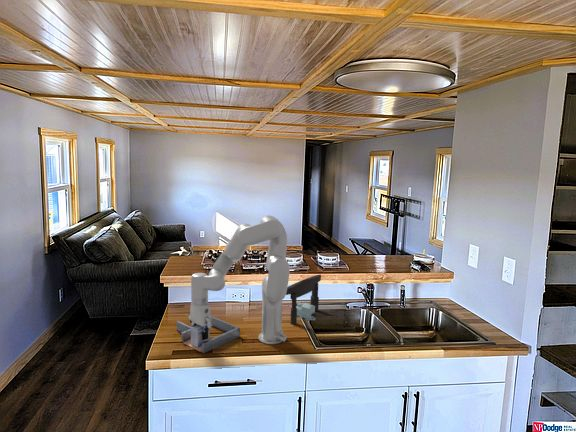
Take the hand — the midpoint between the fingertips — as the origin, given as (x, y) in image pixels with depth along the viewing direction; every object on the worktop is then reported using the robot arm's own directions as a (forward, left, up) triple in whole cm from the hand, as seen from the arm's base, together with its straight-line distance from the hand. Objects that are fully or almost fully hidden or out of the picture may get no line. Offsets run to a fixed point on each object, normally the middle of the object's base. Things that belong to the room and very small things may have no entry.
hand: (200, 336), depth 187 cm
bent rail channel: (+6, -7, -4) cm, 10 cm away
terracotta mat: (0, 0, -4) cm, 4 cm away
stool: (-16, -58, -4) cm, 61 cm away
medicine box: (0, 0, -4) cm, 4 cm away
